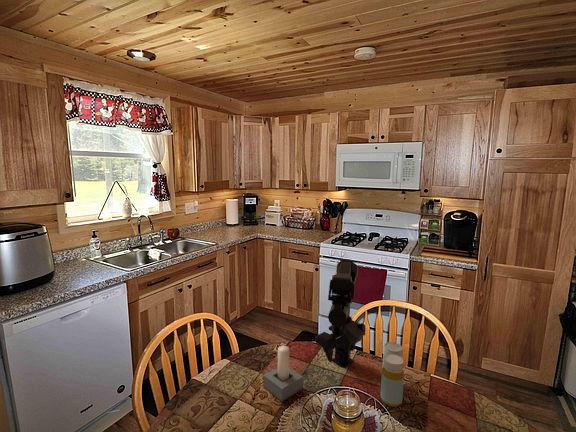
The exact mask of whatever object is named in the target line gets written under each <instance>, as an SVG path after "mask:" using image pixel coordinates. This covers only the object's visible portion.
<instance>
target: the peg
mask: <svg viewBox="0 0 576 432" xmlns="http://www.w3.org/2000/svg"><path fill="white" fill-rule="evenodd" d="M277 367H278V379H279V380H280V381H281V382H284V381H286V380H288V379H289V367H290V348H289V347H288V346H287V345H281V346H279V347H278V348H277Z"/></svg>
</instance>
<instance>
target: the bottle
mask: <svg viewBox="0 0 576 432" xmlns="http://www.w3.org/2000/svg"><path fill="white" fill-rule="evenodd" d="M404 361H405V360H404V358H403V359H402V358H401V357H400V356H398V355H395V354H387V355H385V356H384V366H383V365H382V367H383V369H381V382H380V399H381V401H382V402H383V404H385V405H386V406H389V407H392V408H396V407H399V406H401V405H402V404H403V398H404V395H403V394H404V385H405V373H404V364H405V363H404Z"/></svg>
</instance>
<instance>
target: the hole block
mask: <svg viewBox="0 0 576 432" xmlns="http://www.w3.org/2000/svg"><path fill="white" fill-rule="evenodd" d="M262 376H263V377H262V381H263V382H262V387H263V388H264V389H265V390H267V392H268V393H270V394H271V395H273V396H274V397H275V398H276V399H278V400H279V402H284V401H286V400H287V399H288V398H290V397H292V396H294V395H295V394H297V393H299V392H301V390H303V389H304V376H303V375H301V374H300V373H299V372H297V371H296V370H294V369H293V368H292V367H290V366H289V379H288V380H286V381H284V382H281V381H280V380H279V379H278V366H277V367H275V368H273V369H272V370H269V371H267V373H264V374H263V375H262Z"/></svg>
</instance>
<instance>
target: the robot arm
mask: <svg viewBox="0 0 576 432" xmlns="http://www.w3.org/2000/svg"><path fill="white" fill-rule="evenodd" d="M358 266H359V265H358V264H356V263H354V260H352V259H350V258H341V259H339V262H337V264H336V270H335V271H336V272H335V274H334V275H332V279H329V288H328V297H327V301H330V302H331V301H332V302H331V303H332V304H331V307H330V308H329V309H330V310H329V312H328V316H327V319H328V322H329V323H330V326H328V330H329V331H330V332H331V333H329V332H327V331H323V332H321V333H319V334H317V335H315V343H316V344H317V345H319V346H321V348H322V349H323V352H324V354H325V356H326V358H327V361H328V362H329V363H332V362H333V363H335V364H337V365H338V366H340V367H342V368H346V367H347V366H349V365H351V364H352V363H354V360H353V359H352V358H351V355H352V353H351V352H354V351H355V350H356V344H358V343H359V342H361V341H362V339H363V337H364V336H366V325H365V324H364V323H363V322H361V323H360V322H358V321H356V320H353V318H352V316H351V304H352V303H353V300H355V291H356V290H355V289H356V285H355V283H356V280H357V279H356V278H358V276H359V275H358V273H359V267H358ZM333 355H334V356H333Z"/></svg>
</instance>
